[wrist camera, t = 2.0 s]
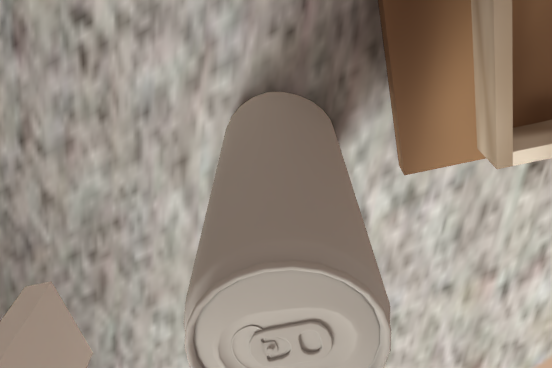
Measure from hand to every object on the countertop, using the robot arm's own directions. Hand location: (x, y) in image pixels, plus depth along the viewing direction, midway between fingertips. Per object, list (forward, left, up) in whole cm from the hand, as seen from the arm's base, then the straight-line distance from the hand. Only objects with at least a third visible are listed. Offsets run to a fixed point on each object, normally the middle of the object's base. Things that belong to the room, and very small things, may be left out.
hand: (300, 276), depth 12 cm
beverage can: (0, 0, -10) cm, 10 cm away
